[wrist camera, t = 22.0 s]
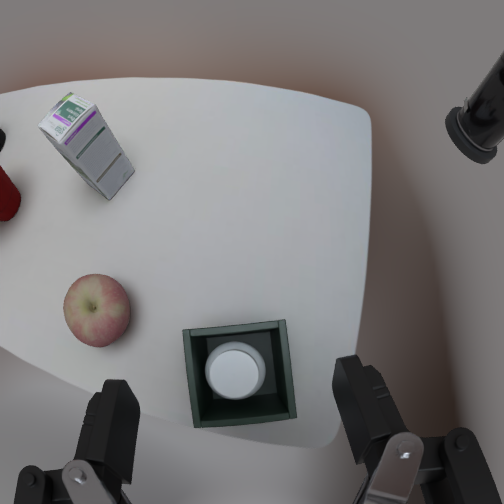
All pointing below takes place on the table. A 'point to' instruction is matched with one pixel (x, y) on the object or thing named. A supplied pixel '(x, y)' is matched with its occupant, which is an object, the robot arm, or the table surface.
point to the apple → (96, 309)
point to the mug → (2, 139)
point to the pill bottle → (235, 370)
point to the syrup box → (87, 144)
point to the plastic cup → (8, 197)
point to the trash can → (259, 404)
